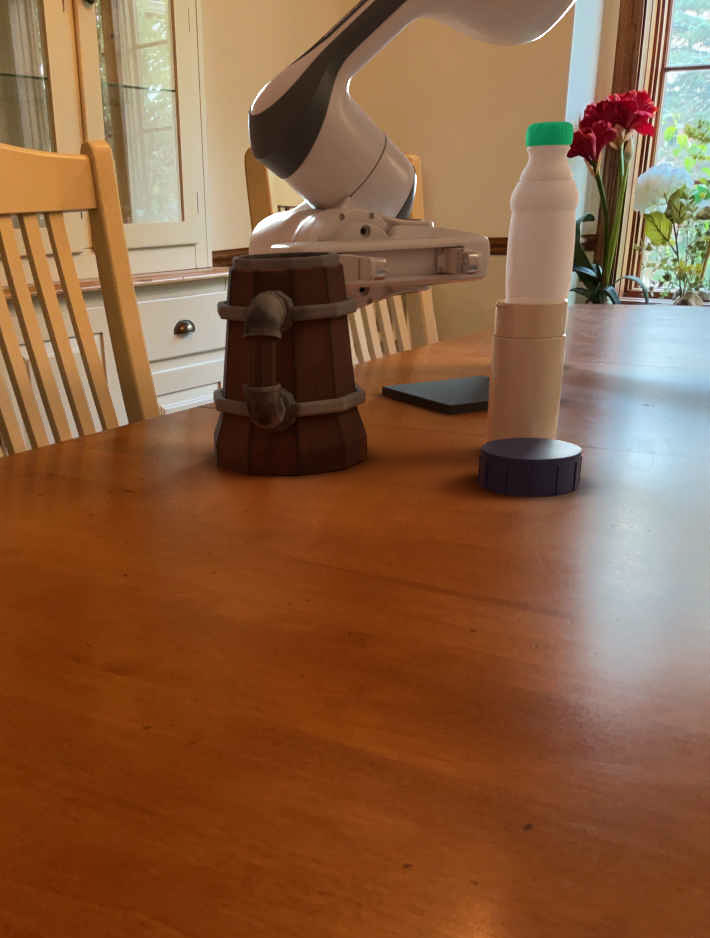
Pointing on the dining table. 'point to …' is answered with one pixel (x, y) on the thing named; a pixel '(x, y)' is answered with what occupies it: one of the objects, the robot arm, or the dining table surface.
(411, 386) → the plate
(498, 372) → the jam jar
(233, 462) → the mug
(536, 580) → the dining table surface
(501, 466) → the jam lid
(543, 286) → the water bottle
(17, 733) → the dining table surface
